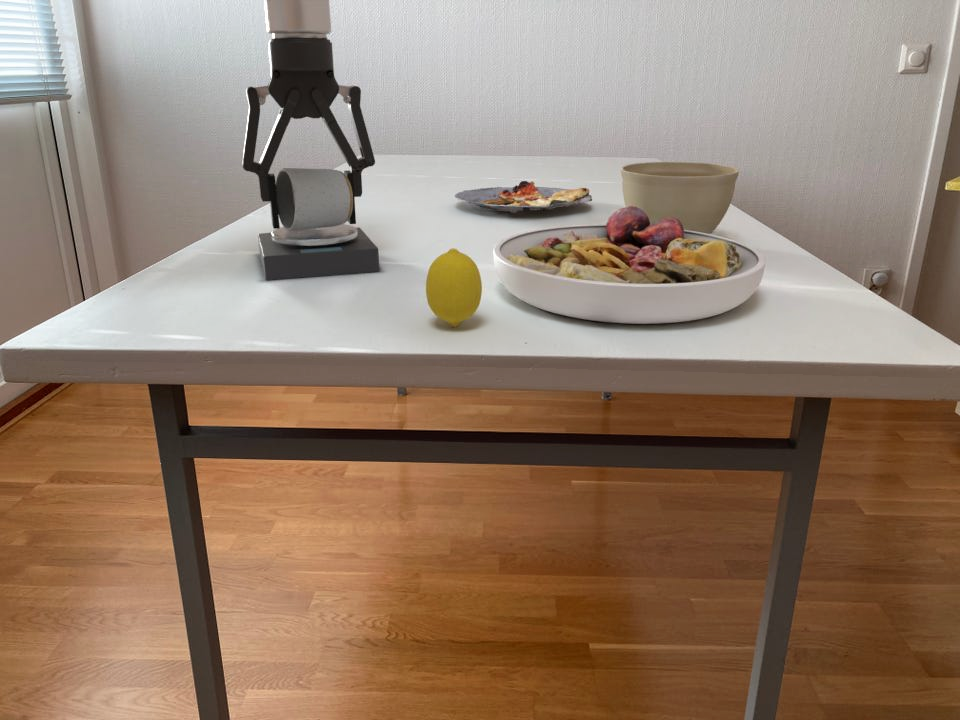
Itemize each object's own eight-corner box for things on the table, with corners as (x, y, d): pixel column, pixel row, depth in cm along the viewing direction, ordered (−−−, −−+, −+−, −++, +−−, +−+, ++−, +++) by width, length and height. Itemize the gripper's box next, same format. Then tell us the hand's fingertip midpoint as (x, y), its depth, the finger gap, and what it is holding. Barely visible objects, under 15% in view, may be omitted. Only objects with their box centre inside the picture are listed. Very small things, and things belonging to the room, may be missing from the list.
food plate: (531, 192, 158) (531, 175, 157) (617, 208, 141) (619, 188, 140) (431, 206, 143) (430, 186, 142) (514, 225, 126) (514, 203, 125)
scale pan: (275, 248, 95) (274, 242, 95) (269, 231, 105) (268, 225, 105) (364, 242, 98) (363, 236, 98) (350, 226, 108) (350, 220, 108)
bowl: (783, 342, 74) (795, 261, 71) (472, 325, 78) (472, 249, 76) (739, 266, 101) (746, 205, 98) (511, 257, 106) (511, 199, 103)
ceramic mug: (358, 228, 99) (354, 167, 97) (297, 235, 95) (291, 171, 92) (325, 216, 108) (321, 159, 105) (268, 223, 103) (262, 163, 101)
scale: (265, 280, 95) (263, 255, 94) (259, 255, 107) (257, 232, 106) (379, 271, 99) (378, 247, 98) (360, 248, 111) (359, 226, 110)
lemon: (488, 321, 80) (488, 244, 77) (471, 338, 75) (471, 256, 72) (438, 316, 81) (436, 240, 79) (418, 332, 77) (416, 252, 74)
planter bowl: (633, 228, 124) (638, 158, 120) (738, 238, 117) (746, 164, 113) (602, 249, 110) (606, 171, 107) (718, 261, 104) (727, 178, 100)
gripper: (383, 38, 99) (390, 214, 108) (204, 37, 93) (226, 223, 101) (395, 37, 93) (402, 224, 101) (203, 35, 87) (227, 235, 95)
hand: (314, 224), depth 101 cm, fingers closed on ceramic mug, 9 cm apart
